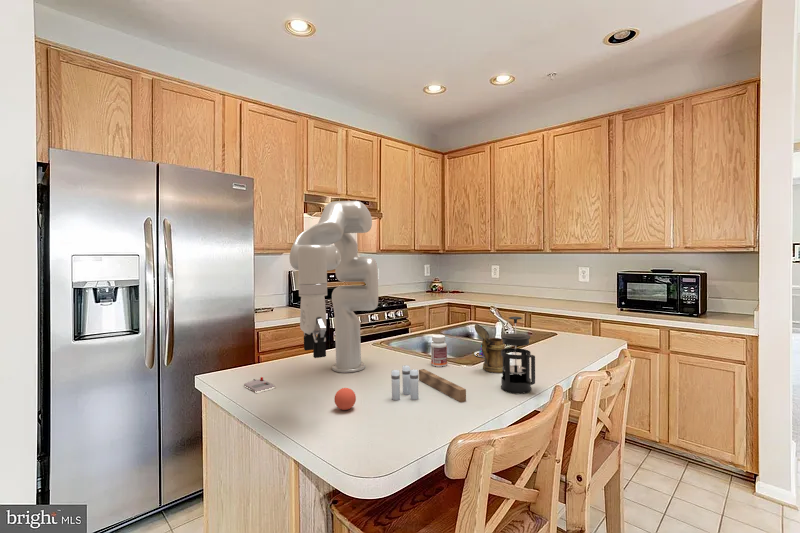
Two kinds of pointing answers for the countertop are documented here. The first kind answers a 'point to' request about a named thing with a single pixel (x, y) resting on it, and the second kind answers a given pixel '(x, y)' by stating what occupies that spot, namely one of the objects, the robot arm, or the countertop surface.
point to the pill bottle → (438, 351)
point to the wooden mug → (491, 351)
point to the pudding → (479, 351)
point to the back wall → (443, 385)
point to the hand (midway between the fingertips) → (314, 353)
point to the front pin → (395, 384)
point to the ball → (345, 399)
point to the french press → (513, 375)
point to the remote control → (259, 385)
